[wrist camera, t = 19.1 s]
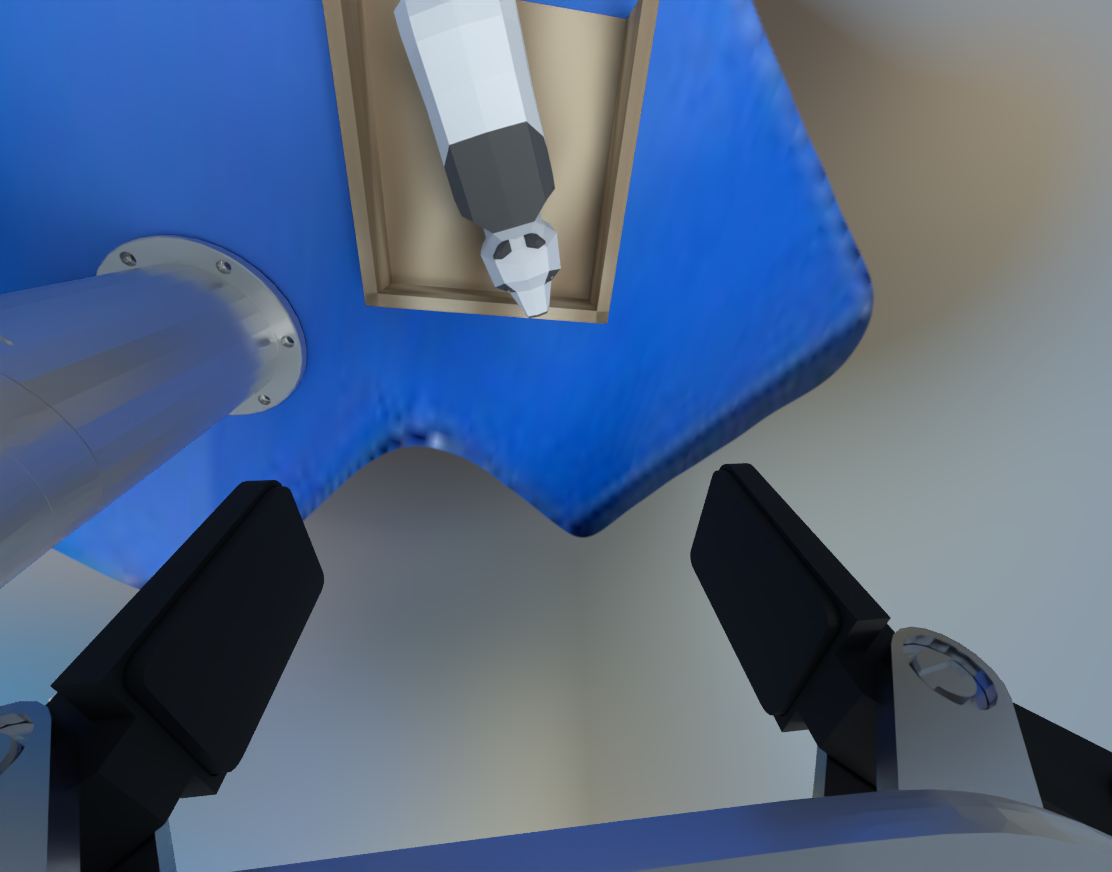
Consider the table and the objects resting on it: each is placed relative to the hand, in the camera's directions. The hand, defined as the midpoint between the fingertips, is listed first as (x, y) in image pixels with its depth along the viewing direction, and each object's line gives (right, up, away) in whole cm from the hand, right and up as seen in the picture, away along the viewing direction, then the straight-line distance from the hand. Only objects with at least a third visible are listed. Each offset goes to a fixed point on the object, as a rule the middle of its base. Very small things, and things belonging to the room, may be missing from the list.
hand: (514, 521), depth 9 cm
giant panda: (-3, +19, +16) cm, 25 cm away
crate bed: (-3, +19, +16) cm, 25 cm away
